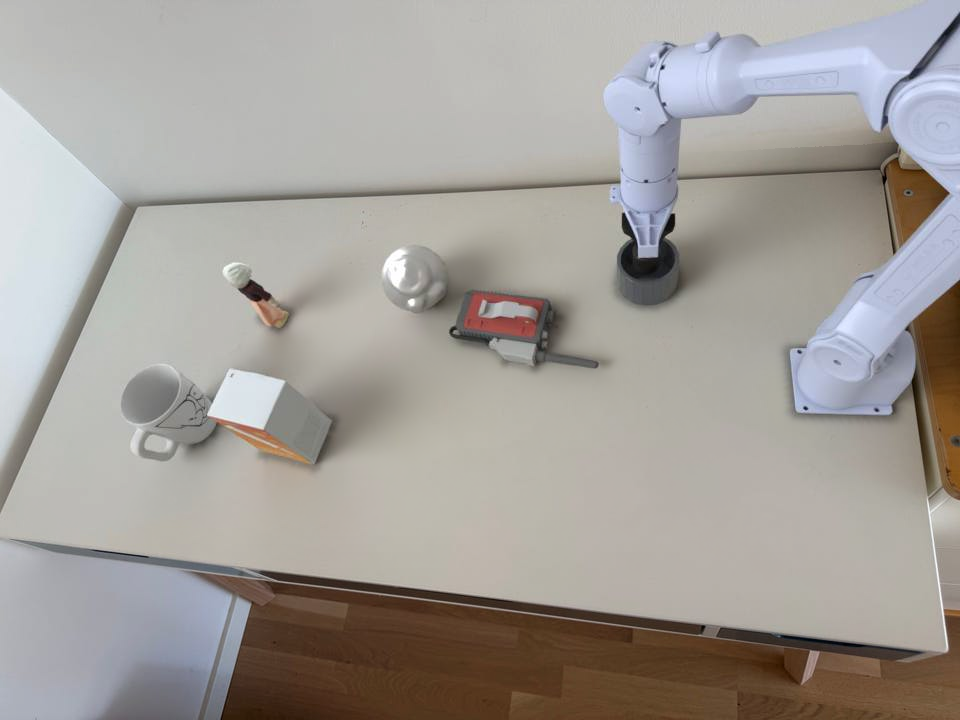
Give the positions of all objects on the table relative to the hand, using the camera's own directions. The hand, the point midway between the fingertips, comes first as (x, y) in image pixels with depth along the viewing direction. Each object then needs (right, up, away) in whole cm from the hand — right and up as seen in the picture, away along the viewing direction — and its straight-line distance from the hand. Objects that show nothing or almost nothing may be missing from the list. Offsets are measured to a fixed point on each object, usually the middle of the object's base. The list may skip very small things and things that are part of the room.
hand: (647, 243), depth 77 cm
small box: (-44, -24, +8) cm, 50 cm away
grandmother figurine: (-49, -8, +18) cm, 53 cm away
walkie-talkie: (-14, -11, +7) cm, 19 cm away
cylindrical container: (+2, -4, +7) cm, 8 cm away
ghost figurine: (-28, -5, +14) cm, 31 cm away
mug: (-59, -24, +12) cm, 65 cm away
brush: (+1, -2, +4) cm, 4 cm away
